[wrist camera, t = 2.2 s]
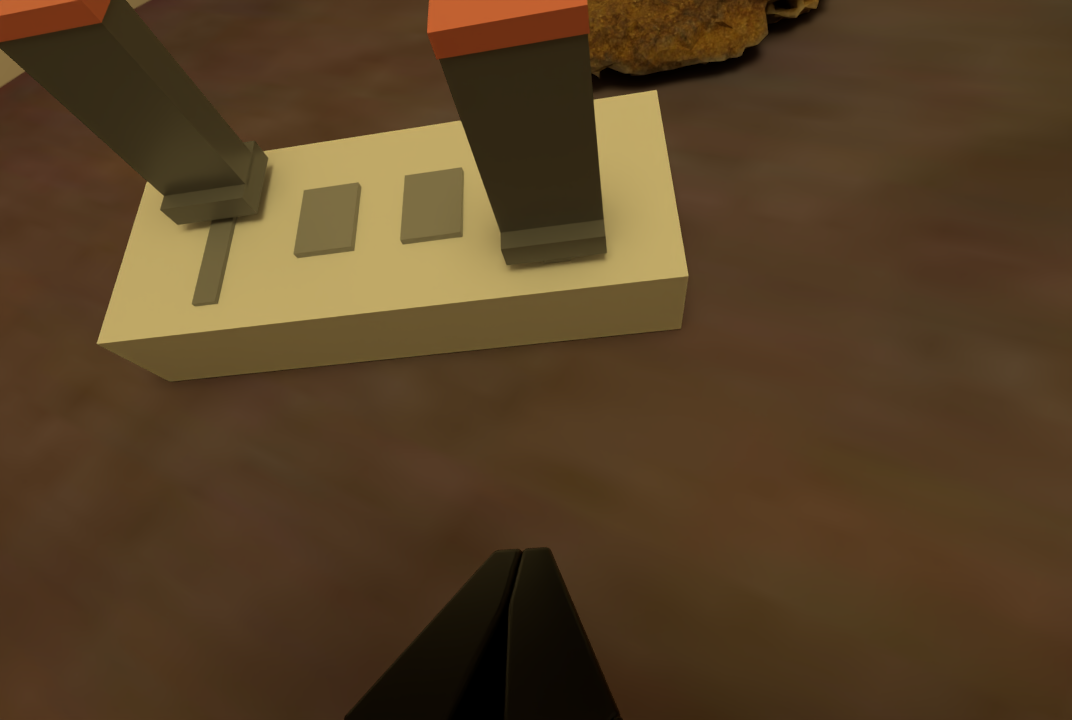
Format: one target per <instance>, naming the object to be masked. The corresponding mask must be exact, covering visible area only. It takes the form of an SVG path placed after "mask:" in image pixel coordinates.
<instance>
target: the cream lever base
mask: <svg viewBox="0 0 1072 720" xmlns="http://www.w3.org/2000/svg"><path fill="white" fill-rule="evenodd" d="M594 111H595V123H596V134H597V146H598V158H599V169H600V181H601V192H602V204H603V216H604V226H605V235H606V247H607V253H605V254H597V255H588V256H580V257H572V258H564V259H555V260H547V261H539V262H531V263H523V264H514V265H506V262H505V260H504V257H503V254H502V252H501V234H500V230H499V227H498V224H497V221H496V219H495V216H494V213H493V210H492V207H491V204H490V202H489V199H488V196H487V193H486V190H485V187H484V185H483V182H482V179H481V176H480V173H479V170H478V168H477V165H476V162H475V159H474V156H473V153H472V151H471V148H470V145H469V142H468V139H467V136H466V134H465V131H464V128H463V125H462V122H461V121H455V122H449V123H442V124H436V125H429V126H423V127H417V128H410V129H404V130H397V131H391V132H385V133H378V134H372V135H365V136H359V137H353V138H346V139H340V140H333V141H327V142H321V143H314V144H308V145H301V146H295V147H288V148H282V149H276V150H269V151H263V152H264V153H265V154H266V156H267V157H268V162H267V167H266V172H265V177H264V182H263V187H262V192H261V197H260V202H259V207H258V211H257V214H252V215H245V216H238V217H231V218H224V219H217V220H210V221H203V222H196V223H188V224H181V225H177V224H176V223H175V222H173V221H172V220H171V219H170V218H169V217H168V216H166V215H165V214H164V213H163V212H162V211H161V210H160V208H161V204H162V201H163V197H164V196H163V195H162V194H161V193H160V192H159V191H158V190H157V189H155V188H154V187H153V186H152V185H151V184H150V183H149V182H148V181H147V183H146V187H145V190H144V193H143V196H142V199H141V203H140V206H139V209H138V212H137V216H136V219H135V222H134V225H133V229H132V232H131V235H130V238H129V241H128V245H127V248H126V251H125V254H124V258H123V261H122V264H121V267H120V271H119V274H118V277H117V280H116V283H115V287H114V290H113V293H112V296H111V300H110V303H109V306H108V309H107V313H106V316H105V319H104V322H103V325H102V329H101V332H100V335H99V338H98V342H97V344H98V345H100V346H102V347H103V348H105V349H107V350H109V351H111V352H113V353H115V354H117V355H119V356H121V357H123V358H125V359H127V360H129V361H131V362H132V363H134V364H136V365H138V366H140V367H142V368H144V369H146V370H148V371H150V372H152V373H154V374H156V375H158V376H159V377H161V378H163V379H165V380H167V381H169V382H172V381H181V380H191V379H201V378H210V377H220V376H230V375H239V374H249V373H259V372H268V371H278V370H288V369H297V368H307V367H317V366H326V365H336V364H346V363H355V362H365V361H374V360H384V359H394V358H403V357H413V356H423V355H432V354H442V353H452V352H461V351H471V350H481V349H490V348H500V347H510V346H519V345H529V344H539V343H548V342H558V341H567V340H577V339H587V338H596V337H606V336H616V335H625V334H635V333H645V332H654V331H664V330H674V329H681V325H682V318H683V311H684V304H685V297H686V290H687V283H688V270H687V265H686V259H685V253H684V247H683V241H682V235H681V230H680V224H679V218H678V212H677V206H676V200H675V194H674V189H673V183H672V177H671V171H670V165H669V159H668V154H667V148H666V142H665V136H664V130H663V124H662V119H661V113H660V107H659V101H658V95H657V90H654V91H647V92H641V93H635V94H628V95H622V96H615V97H609V98H602V99H596V100H594Z"/></svg>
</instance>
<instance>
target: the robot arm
mask: <svg viewBox="0 0 1072 720" xmlns="http://www.w3.org/2000/svg"><path fill="white" fill-rule="evenodd" d="M344 720H623V719H622V718H621V717H620V713H619V710H618V708H617V706H616V703H615V701H614V698H613V696H612V694H611V691H610V689H609V687H608V684H607V682H606V680H605V677H604V675H603V672H602V670H601V668H600V665H599V663H598V661H597V658H596V656H595V654H594V651H593V649H592V646H591V644H590V642H589V639H588V637H587V635H586V632H585V630H584V627H583V625H582V623H581V620H580V618H579V616H578V613H577V611H576V609H575V606H574V604H573V601H572V599H571V597H570V594H569V592H568V590H567V587H566V585H565V583H564V580H563V578H562V575H561V573H560V571H559V568H558V566H557V564H556V561H555V559H554V556H553V554H552V552H551V550H550V549H549V548H547V547H543V548H527V549H525V550H524V551H523V552H522V551H521V550H520V549H508V550H497V551H495V552H494V553H493V554H492V555H491V556H490V557H489V558H488V559H487V560H486V561H485V562H484V563H483V565H482V566H481V567H480V568H479V569H478V570H477V571H476V572H475V573H474V574H473V576H472V577H471V578H470V579H469V580H468V581H467V582H466V583H465V584H464V586H463V587H462V588H461V589H460V590H459V591H458V592H457V593H456V594H455V595H454V597H453V598H452V599H451V600H450V601H449V602H448V603H447V604H446V605H445V606H444V608H443V609H442V610H441V611H440V612H439V613H438V614H437V615H436V616H435V618H434V619H433V620H432V621H431V622H430V623H429V624H428V625H427V626H426V627H425V629H424V630H423V631H422V632H421V633H420V634H419V635H418V636H417V637H416V639H415V640H414V641H413V642H412V643H411V644H410V645H409V646H408V647H407V648H406V650H405V651H404V652H403V653H402V654H401V655H400V656H399V657H398V658H397V660H396V661H395V662H394V663H393V664H392V665H391V666H390V667H389V668H388V669H387V671H386V672H385V673H384V674H383V675H382V676H381V677H380V678H379V679H378V680H377V682H376V683H375V684H374V685H373V686H372V687H371V688H370V689H369V690H368V692H367V693H366V694H365V695H364V696H363V697H362V698H361V699H360V700H359V701H358V703H357V704H356V705H355V706H354V707H353V708H352V709H351V710H350V711H349V713H348V714H347V715H346V716H345V718H344Z"/></svg>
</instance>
